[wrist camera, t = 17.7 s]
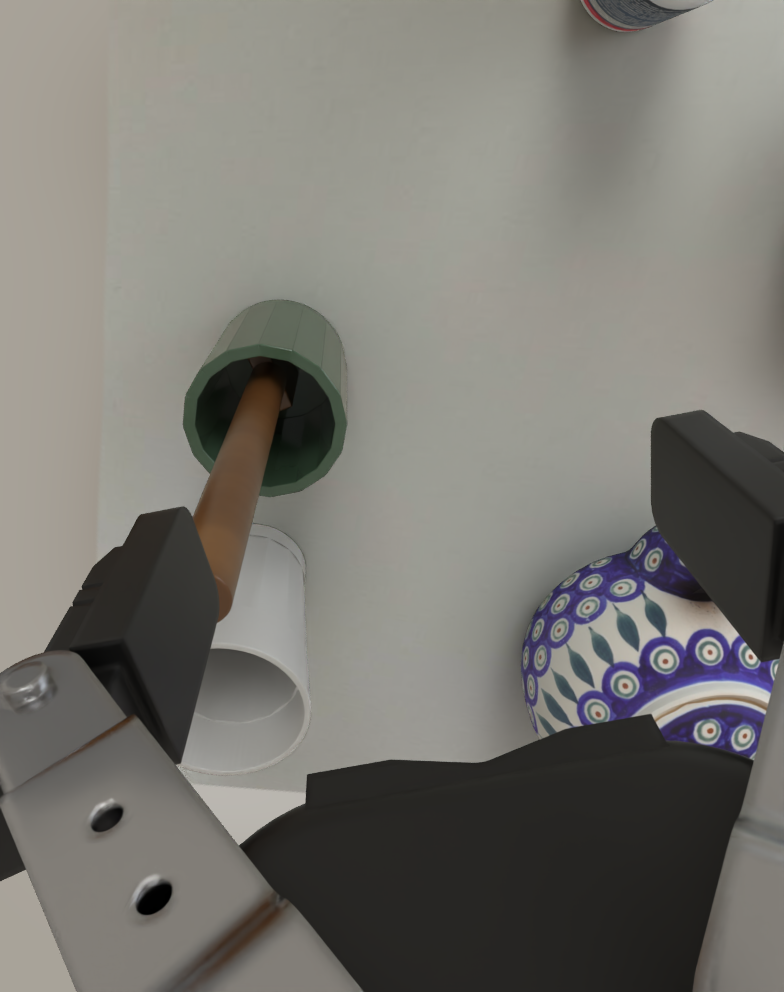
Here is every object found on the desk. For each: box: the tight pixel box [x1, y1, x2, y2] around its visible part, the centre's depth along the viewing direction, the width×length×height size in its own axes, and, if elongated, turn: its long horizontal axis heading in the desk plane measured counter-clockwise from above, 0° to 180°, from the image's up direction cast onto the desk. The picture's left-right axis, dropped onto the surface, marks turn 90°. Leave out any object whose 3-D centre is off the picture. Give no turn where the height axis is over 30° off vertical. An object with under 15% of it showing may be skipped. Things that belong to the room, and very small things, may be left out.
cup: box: [176, 524, 311, 775], centre depth 37 cm, size 8×8×12 cm
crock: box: [183, 300, 347, 497], centre depth 33 cm, size 7×7×9 cm
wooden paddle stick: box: [192, 356, 299, 623], centre depth 26 cm, size 3×2×22 cm, turn 19°
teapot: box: [521, 526, 779, 760], centre depth 39 cm, size 25×15×15 cm, turn 174°
